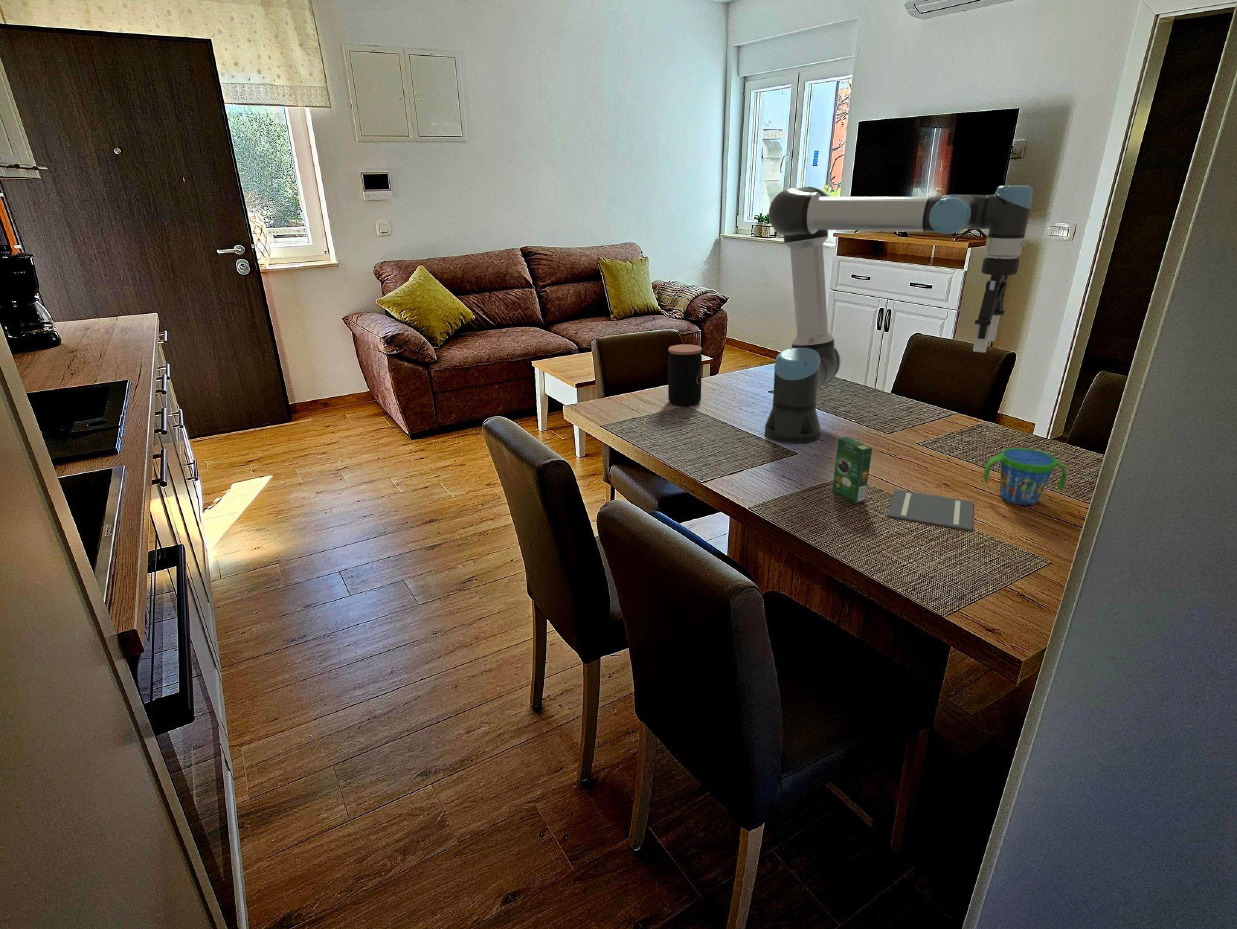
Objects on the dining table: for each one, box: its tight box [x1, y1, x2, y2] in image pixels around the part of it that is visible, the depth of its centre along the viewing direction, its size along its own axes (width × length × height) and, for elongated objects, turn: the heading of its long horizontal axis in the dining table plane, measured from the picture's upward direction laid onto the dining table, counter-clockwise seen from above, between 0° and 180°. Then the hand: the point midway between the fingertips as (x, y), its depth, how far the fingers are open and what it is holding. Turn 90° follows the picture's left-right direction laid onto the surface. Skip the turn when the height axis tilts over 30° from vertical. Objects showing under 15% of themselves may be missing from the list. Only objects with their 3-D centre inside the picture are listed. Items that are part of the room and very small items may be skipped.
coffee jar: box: [667, 343, 703, 408], centre depth 216 cm, size 11×11×18 cm
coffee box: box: [832, 436, 873, 504], centre depth 149 cm, size 8×3×13 cm, turn 25°
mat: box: [887, 489, 974, 532], centre depth 144 cm, size 16×14×1 cm
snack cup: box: [983, 447, 1068, 506], centre depth 146 cm, size 16×10×10 cm
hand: (984, 346), depth 166 cm, fingers open, 13 cm apart
